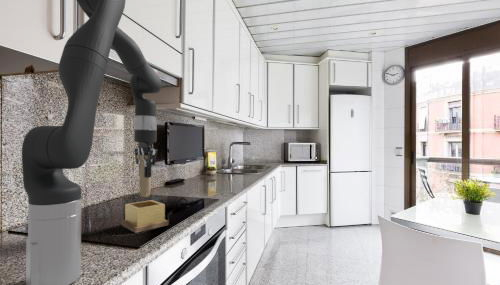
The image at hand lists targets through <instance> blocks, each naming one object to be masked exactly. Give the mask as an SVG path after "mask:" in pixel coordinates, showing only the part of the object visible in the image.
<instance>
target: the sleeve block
mask: <svg viewBox="0 0 500 285" xmlns="http://www.w3.org/2000/svg"><path fill="white" fill-rule="evenodd" d="M165 213H166V204H165V203H162V202H159V201H156V200H153V199H150V200H143V201H137V202H130V203H125V205H124V218H125V219H124V220H120V224H121V226H122V227H124V228H125V229H128V230H129V231H131V232H133V233H135V234H136V233H140V232H145V231H149V230H150V231H151V230H153V229H157V228H161V227H166V226H169V220H167V219H166V214H165Z"/></svg>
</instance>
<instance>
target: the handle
mask: <svg viewBox="0 0 500 285" xmlns="http://www.w3.org/2000/svg"><path fill="white" fill-rule="evenodd" d="M144 156H145V159H147V160H148V155H144ZM137 159H138V160H140V176H139V193H140V197H141V198H148V197H150V195H151V189H152V188H151V187H152V176H151V177H149V178H145V177H144V167H145V166H144V161H143V155H137Z"/></svg>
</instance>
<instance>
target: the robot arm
mask: <svg viewBox="0 0 500 285" xmlns="http://www.w3.org/2000/svg"><path fill="white" fill-rule="evenodd" d="M76 2H77V4H78V6H79V7H80V8H81V10H82V11H83V13H84V14H85V15H86V16H87V17H88V19H87V21H85V23H83V24H82V25H81V26H80V27H79V28H78V29H77V30H75V31H74V33H72V34H71V36H70V37H68V39H67V41H66V43H65V44H64V47H63V50H62V53H61V56H60V61H59V63H58V75H59V79H60V81H61V84H62V87H63V89H64V92H65V93H66V97H67V110H66V113H65V118H64V121H63V124H62V125H40V126H36V127H33V128H31V129H30V130H29V131H27V133H26V135H25V136H24V138H23V142H22V145H21V166H22V180H23V182H22V184H23V188H24V191H25V192H26V195H27V198H28V205H27V206H28V207H27V208H28V210H27V212H28V214H27V227H28V231H27V237H26V240H25V285H72V283H73V284H74V283H75V282H76V281H77V280H79V279H80V277H81V274H82V187H81V185H80V184H78V183H75V182H73V181H72V180H70V179H69V178H68V177H66V175H65V173H64V170H75V169H80V168H82V167H83V165H84V164H85V163H86V162H87V160H88V159H89V156H90V154H91V150H92V145H93V138H94V131H95V124H96V123H95V122H96V115H97V109H98V104H99V99H100V94H101V89H102V87H103V86H102V85H103V82H104V78H105V76H106V71H107V67H108V64H109V57H110V52H111V49H112V48H113V51H115V53H116V55H117V56H118V57H119V60H120V62H121V63H122V64H123V66H124V69H126V70H125V71H127V72H128V73H129V75H131V77H130V79H129V86H130V90H131V94H132V97H133V101H134V106H135V107H134V111H135V112H134V122H133V123H134V127H133V128H134V131H133V132H134V134H133V141H134V142H135V143H137V144H138V146H137V148H134V149H133V150H134V151H133V152H134V157H135V164H136V165H137V166H138V168H139V170H138V172H139V173H138V175H139V177H140V160H139V159H137V155H143V161H144V166H145V167H144V177H145V178H149V177H151V178H152V167H153V166H156V160H157V155H158V148H157V149H156V148H154V144H153V143H156V142H157V135H158V132H157V130H158V129H157V128H158V126H157V104H156V102H155V101H154V100H151V99H148V98H146V97H145V94H157V93H160V91H161V89H162V80H161V79H162V78H160V76H159V74H158V72H156V71H155V70H154V68H153V67H152V66H151V65H150V64H149V63H148V62H147V59H146V57H145V56H144V54H143V51H142V50H141V47H139V45H138V44H137V43H136V41H135V40H134V39H133V38H132V37H131V36H129V35H128V34H127V33H126V32H124V31H123V30H122V29H121V28H120V27H119V23H120V21H121V20H122V19H121V18H122V16H123V13H124V10H125V6H126V0H76ZM144 155H148V160H147V159H145V156H144Z"/></svg>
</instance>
